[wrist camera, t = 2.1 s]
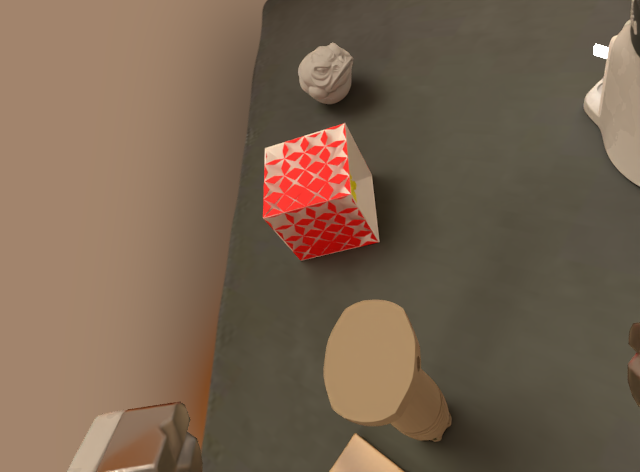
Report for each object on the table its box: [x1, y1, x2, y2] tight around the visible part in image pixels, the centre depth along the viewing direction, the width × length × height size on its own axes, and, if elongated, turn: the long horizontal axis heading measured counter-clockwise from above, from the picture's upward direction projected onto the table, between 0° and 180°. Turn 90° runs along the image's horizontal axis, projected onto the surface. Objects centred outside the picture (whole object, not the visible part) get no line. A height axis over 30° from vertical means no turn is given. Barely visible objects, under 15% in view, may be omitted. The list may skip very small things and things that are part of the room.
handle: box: [324, 300, 451, 442], centre depth 33 cm, size 5×6×15 cm
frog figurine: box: [298, 43, 353, 104], centre depth 57 cm, size 6×7×7 cm
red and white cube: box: [263, 123, 380, 261], centre depth 49 cm, size 8×8×8 cm
